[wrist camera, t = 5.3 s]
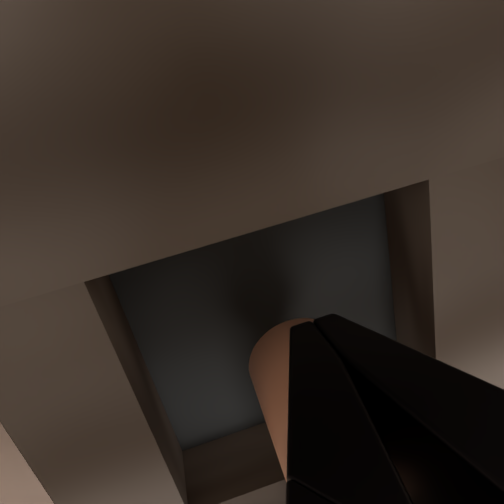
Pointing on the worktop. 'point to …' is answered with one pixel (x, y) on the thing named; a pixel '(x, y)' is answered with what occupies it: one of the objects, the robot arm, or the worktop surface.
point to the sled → (274, 382)
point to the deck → (232, 219)
